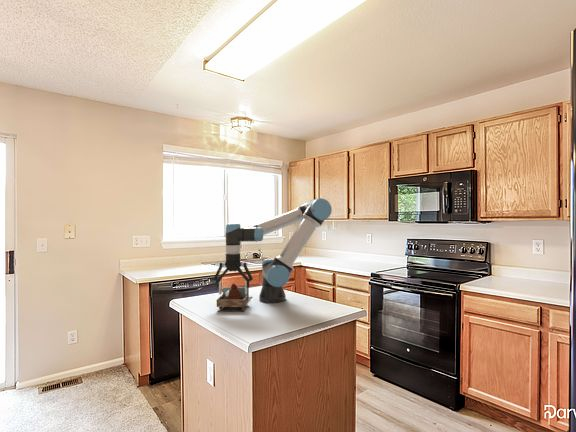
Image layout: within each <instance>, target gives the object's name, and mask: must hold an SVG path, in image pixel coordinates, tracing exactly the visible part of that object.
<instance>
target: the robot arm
mask: <svg viewBox="0 0 576 432" xmlns="http://www.w3.org/2000/svg"><path fill="white" fill-rule="evenodd" d="M332 211H333V209H332V205H331V203H330V202H329V200H327V199H326V198H323V197H322V198H320V197H317V198H315V199H311V200H308V201H307V202H305V203H303V204H301V205H299V206H296V208H295V209H293V210H290V211H288V212H285V213H282V214H279V215H276V216H275V217H271V218H268V219H267V220H263V221H260V222H258V223H256V224H253V225H250V226H247V227H241V223H227V224H226V225H225V253H226V254H225V262H222V261H221V262H220V263H219V267H218V269H217V271H216V273H215V274H214V277H213V278H212V279H213V281H214V282H215V281H216V288H217V289H218V295H220V296H221V295H222V294H223V285H222V284H223V283H222V282H223V281H222V279H223V277H224V276H226V274H227V272H228V271H229V272H238V273H239V274H240V275H241V276H242V278H243V279H244V280H245V282H244V287H245V295H247V288H249V289H250V282H251V281H252V280H253V279H254V278H253V276H252V273H251V272H250V270H249V268H248V265H247V264H248V263H247V262H246V261H245V262H242V261H241V242H242V243H243V242H251V243H253V242H262V241H263V240H264V236H266V235H268V234H272V233H273V232H277V231H279V230H281V229H284V228H286V227H289V226H292V225H296V224H297V223H299V225H298V227H296V230H295V231H294V233H293V234H292V236H291V237H290V239H289V240H288V242H287V244H286V245H285V246H284V248H283V250H282V251H281V253H280V254H279V255H278V256H275V257H274V258H273V259H263V260H262V263H261V267H262V269H261V272H262V273H261V275H262V276H261V277H262V280H261V281H262V284H261V290H260V292H259V297H258V299H259V301H260V302H263V303H270V304H271V303H280V302H284V301H286V297H287V296H286V292H285V290H284V286H286V284H287V283H288V282H289V280H290V275H291V274H292V272H293V270H294V263H295V262H296V260H297V259H298V257H299V256H300V254H301V252H302V251H303V249H304V248H305V246H306V245H307V243H308V242H309V240H310V239H311V237H312V235H313V234H314V232H315V231H316V230H317V228H319V227H321V226H322V225H323V223H324V222H325V220H327V219H328V218H330V216H331V215H332ZM241 266H242V267H243V269H244V270H243V269H241ZM224 267H226V268H225V270H224V271H223V272H222V273H221V271H222V269H223V268H224ZM244 271H245V272H244ZM220 273H221V275H220ZM245 273H246V274H245ZM219 275H220V276H219Z"/></svg>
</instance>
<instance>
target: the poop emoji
mask: <svg viewBox="0 0 576 432" xmlns="http://www.w3.org/2000/svg"><path fill="white" fill-rule="evenodd" d="M230 287H231V288H230V290H228V291H227V292H226V293H225V296H226V297H227V298H226V300H242V294H241V292H240V290H239V288H238V287H239V286H237V285H236V284H235V283H232V284H231V286H230Z"/></svg>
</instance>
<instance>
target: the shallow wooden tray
mask: <svg viewBox="0 0 576 432" xmlns="http://www.w3.org/2000/svg"><path fill="white" fill-rule="evenodd" d="M237 287H238V288H239V290H240V292H241V294H242V300H226V298H227V297H226V296H225V293H226V292H227V291H228V290H230V288H231V286H230V287H225V286H224V287H223V286H222V294H220V296H219V297H218V298H217V299H216V308H219V309H218V310H220V309H222V307H224V308H240V310H241V309H243V308H244V307H245V305H246V304H247V302H248V301H249V297H250V295H249V294H250V293H249V292H250V291H249V289H250V287H249V288H247V295H245V286H244V287H242V286H237ZM249 302H250V301H249ZM249 302H248V303H249ZM247 305H248V304H247ZM247 305H246V306H247ZM245 308H246V307H245Z"/></svg>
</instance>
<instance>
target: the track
mask: <svg viewBox="0 0 576 432" xmlns="http://www.w3.org/2000/svg"><path fill="white" fill-rule="evenodd" d="M252 298H253V296H249V301H248V302H247V304H246V305H245V307H244V308H243V309H241V308H240V309H239V310H224V308H225V307H222V309H218V310H217V313H244V312H245V311H244V310H245V309H246V307H247V305H248V304H249V302H250V301H251V299H252Z"/></svg>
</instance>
